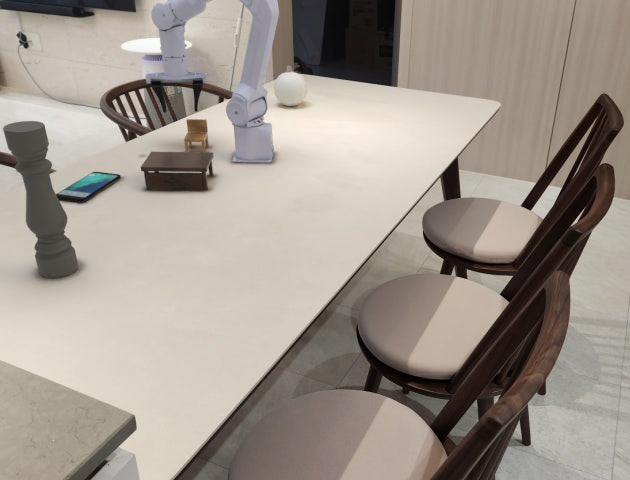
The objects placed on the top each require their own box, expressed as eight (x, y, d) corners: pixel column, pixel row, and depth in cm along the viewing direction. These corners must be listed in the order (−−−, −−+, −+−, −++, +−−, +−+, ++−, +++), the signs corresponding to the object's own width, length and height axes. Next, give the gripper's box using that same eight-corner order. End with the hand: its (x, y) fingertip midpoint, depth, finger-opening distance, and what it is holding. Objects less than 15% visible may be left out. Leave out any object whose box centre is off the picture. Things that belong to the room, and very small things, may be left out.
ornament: (279, 99, 207) (278, 61, 201) (310, 102, 206) (309, 64, 200) (271, 108, 199) (269, 68, 192) (303, 110, 198) (302, 71, 191)
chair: (209, 145, 166) (206, 119, 162) (205, 153, 161) (202, 126, 157) (189, 145, 166) (186, 119, 162) (185, 153, 160) (182, 126, 157)
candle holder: (46, 260, 111) (10, 120, 99) (83, 260, 112) (52, 120, 99) (33, 278, 106) (-7, 132, 93) (72, 278, 107) (37, 132, 94)
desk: (215, 174, 149) (213, 152, 146) (208, 191, 141) (206, 167, 138) (154, 174, 148) (151, 151, 145) (144, 190, 140) (140, 167, 137)
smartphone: (52, 195, 133) (94, 170, 146) (53, 199, 134) (94, 174, 146) (82, 199, 132) (122, 174, 145) (83, 203, 133) (122, 177, 145)
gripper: (204, 52, 160) (209, 105, 167) (144, 52, 157) (151, 107, 164) (204, 57, 154) (210, 113, 161) (142, 58, 151) (150, 115, 158)
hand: (180, 111), depth 162 cm, fingers open, 7 cm apart
